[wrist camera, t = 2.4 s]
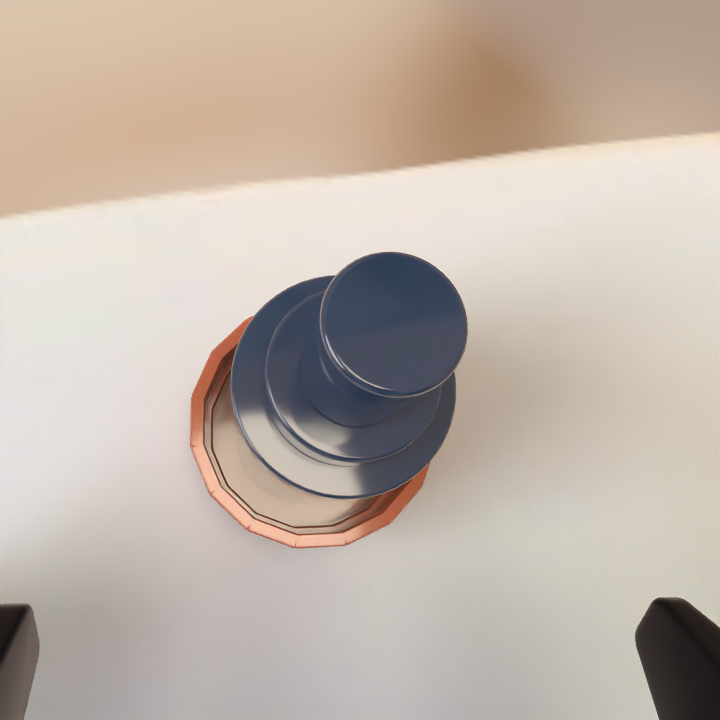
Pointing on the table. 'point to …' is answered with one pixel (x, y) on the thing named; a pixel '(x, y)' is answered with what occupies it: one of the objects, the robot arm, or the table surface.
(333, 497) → the bottle
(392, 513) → the bowl
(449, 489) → the table surface
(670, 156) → the table surface
